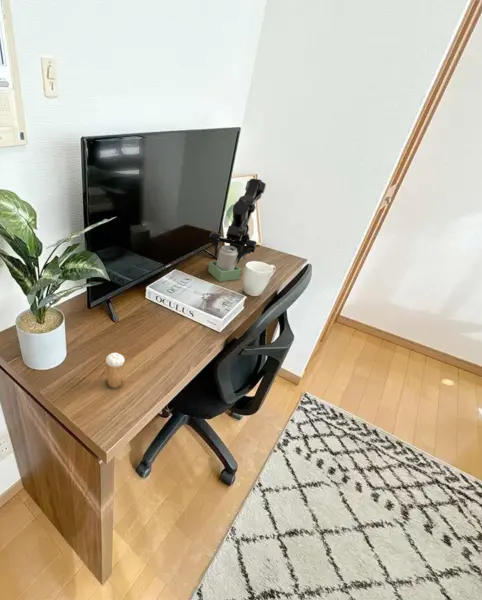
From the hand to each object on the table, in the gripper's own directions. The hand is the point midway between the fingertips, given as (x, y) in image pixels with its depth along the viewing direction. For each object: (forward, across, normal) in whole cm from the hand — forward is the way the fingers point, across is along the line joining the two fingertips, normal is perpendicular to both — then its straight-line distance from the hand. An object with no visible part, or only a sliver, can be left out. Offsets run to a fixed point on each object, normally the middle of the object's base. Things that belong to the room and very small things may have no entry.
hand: (226, 260), depth 131 cm
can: (+4, 0, +6) cm, 7 cm away
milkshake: (+58, -10, -48) cm, 76 cm away
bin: (+4, 0, +6) cm, 8 cm away
